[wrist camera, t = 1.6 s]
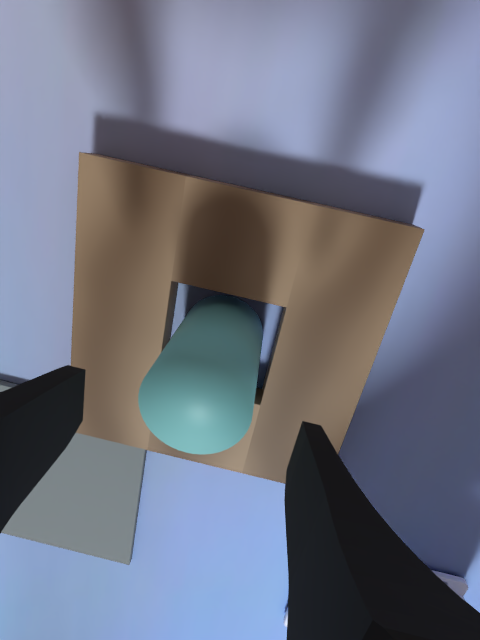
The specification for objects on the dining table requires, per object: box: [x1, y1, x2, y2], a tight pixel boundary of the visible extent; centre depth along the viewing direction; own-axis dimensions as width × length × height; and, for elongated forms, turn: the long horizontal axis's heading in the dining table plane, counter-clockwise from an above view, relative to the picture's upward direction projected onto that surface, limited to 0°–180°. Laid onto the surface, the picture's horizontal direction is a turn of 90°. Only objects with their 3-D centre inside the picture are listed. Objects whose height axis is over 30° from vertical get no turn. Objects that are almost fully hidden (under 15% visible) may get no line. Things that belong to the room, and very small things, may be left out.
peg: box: [138, 295, 263, 454], centre depth 16 cm, size 4×4×6 cm
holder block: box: [71, 152, 424, 484], centre depth 18 cm, size 14×14×2 cm
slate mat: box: [0, 380, 147, 565], centre depth 24 cm, size 12×12×1 cm
